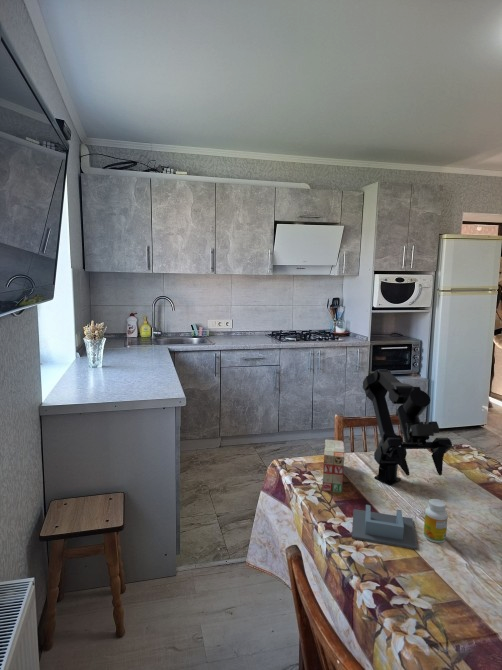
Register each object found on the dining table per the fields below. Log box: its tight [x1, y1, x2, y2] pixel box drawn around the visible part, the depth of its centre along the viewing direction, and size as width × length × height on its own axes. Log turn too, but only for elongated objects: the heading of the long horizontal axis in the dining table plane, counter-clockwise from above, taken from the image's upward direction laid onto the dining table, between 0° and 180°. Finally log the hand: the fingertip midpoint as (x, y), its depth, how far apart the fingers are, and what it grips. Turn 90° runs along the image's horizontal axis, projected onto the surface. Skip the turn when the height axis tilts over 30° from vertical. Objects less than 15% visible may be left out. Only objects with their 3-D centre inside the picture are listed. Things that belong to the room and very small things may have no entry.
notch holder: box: [351, 504, 418, 551], centre depth 117 cm, size 14×16×4 cm
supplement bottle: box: [423, 498, 449, 544], centre depth 114 cm, size 5×5×10 cm
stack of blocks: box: [321, 439, 345, 494], centre depth 147 cm, size 21×6×12 cm, turn 169°
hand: (424, 475), depth 121 cm, fingers open, 9 cm apart
